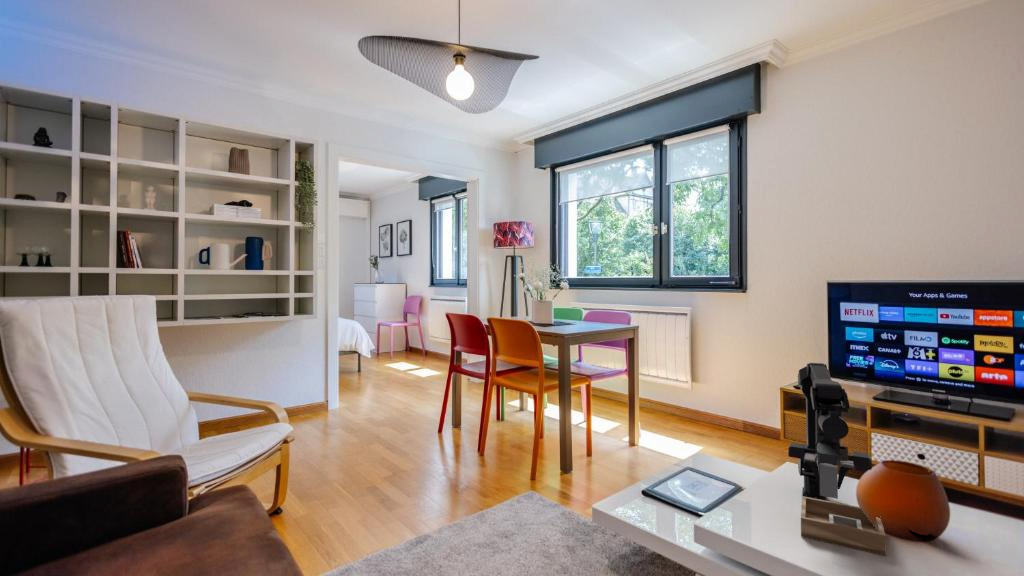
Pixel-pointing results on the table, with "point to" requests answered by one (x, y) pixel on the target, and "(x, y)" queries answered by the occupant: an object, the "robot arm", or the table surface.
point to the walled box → (841, 526)
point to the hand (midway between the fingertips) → (828, 487)
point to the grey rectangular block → (828, 480)
